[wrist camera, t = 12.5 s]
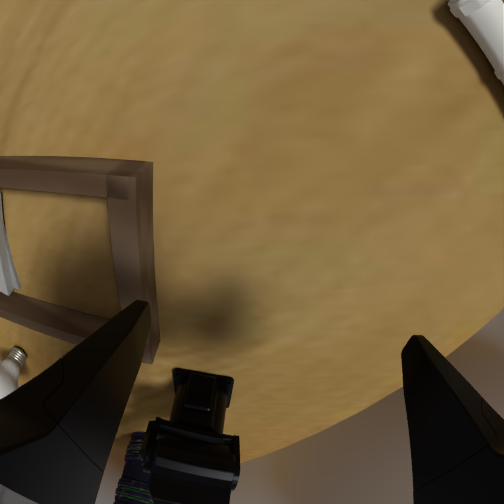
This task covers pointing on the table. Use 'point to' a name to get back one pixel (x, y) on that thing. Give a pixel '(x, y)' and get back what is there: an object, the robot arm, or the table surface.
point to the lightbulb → (11, 371)
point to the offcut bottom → (11, 264)
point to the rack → (121, 232)
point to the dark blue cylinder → (133, 475)
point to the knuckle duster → (484, 28)
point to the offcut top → (4, 261)
